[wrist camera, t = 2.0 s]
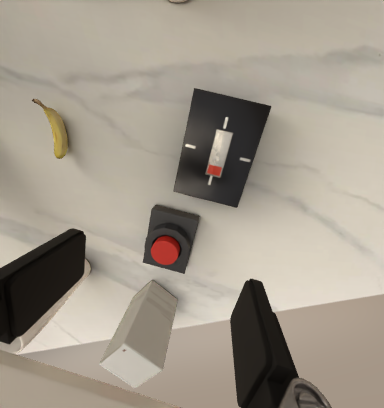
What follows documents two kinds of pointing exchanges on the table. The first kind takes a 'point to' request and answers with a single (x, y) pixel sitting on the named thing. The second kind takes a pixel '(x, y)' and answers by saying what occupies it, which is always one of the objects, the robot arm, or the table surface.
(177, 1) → the milk bottle
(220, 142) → the red-tagged slide lever
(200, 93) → the black flat block
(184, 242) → the box
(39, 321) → the drinking glass
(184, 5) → the table surface
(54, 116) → the banana
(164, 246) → the red push button
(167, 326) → the white packaging box
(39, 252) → the robot arm
